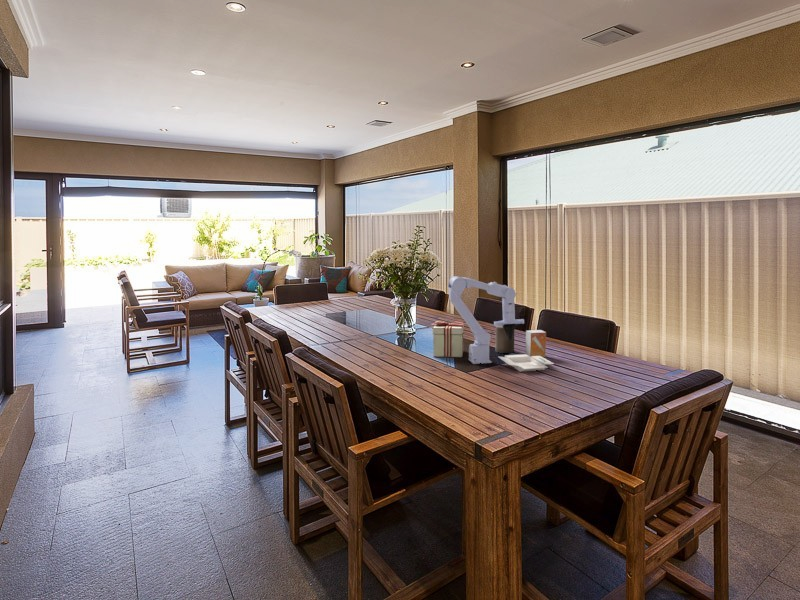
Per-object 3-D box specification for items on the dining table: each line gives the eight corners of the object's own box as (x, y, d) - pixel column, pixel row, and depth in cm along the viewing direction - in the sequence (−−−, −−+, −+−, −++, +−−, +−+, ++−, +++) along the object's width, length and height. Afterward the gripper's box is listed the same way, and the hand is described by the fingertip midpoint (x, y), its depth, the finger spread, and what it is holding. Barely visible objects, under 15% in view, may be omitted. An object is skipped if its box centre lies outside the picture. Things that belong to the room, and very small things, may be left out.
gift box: (463, 349, 254) (463, 317, 251) (464, 358, 235) (464, 324, 233) (431, 348, 255) (431, 317, 253) (430, 357, 237) (430, 324, 235)
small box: (530, 358, 232) (530, 332, 231) (525, 355, 239) (525, 330, 237) (545, 357, 233) (546, 332, 232) (540, 354, 240) (540, 329, 238)
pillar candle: (515, 353, 242) (516, 325, 240) (496, 353, 242) (497, 325, 240) (511, 349, 252) (512, 321, 250) (493, 349, 252) (494, 321, 250)
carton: (523, 374, 207) (523, 368, 207) (503, 360, 230) (503, 355, 229) (548, 372, 209) (548, 367, 209) (526, 359, 232) (526, 354, 231)
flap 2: (553, 363, 214) (553, 364, 214) (540, 355, 228) (540, 356, 228) (544, 363, 213) (544, 364, 213) (531, 356, 227) (531, 356, 227)
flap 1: (518, 365, 211) (518, 366, 211) (506, 357, 225) (506, 358, 225) (509, 364, 211) (509, 365, 211) (498, 356, 224) (497, 357, 224)
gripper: (496, 314, 222) (497, 342, 224) (526, 311, 223) (527, 339, 225) (492, 312, 229) (493, 339, 231) (520, 309, 230) (521, 336, 232)
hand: (509, 339), depth 228 cm, fingers closed
